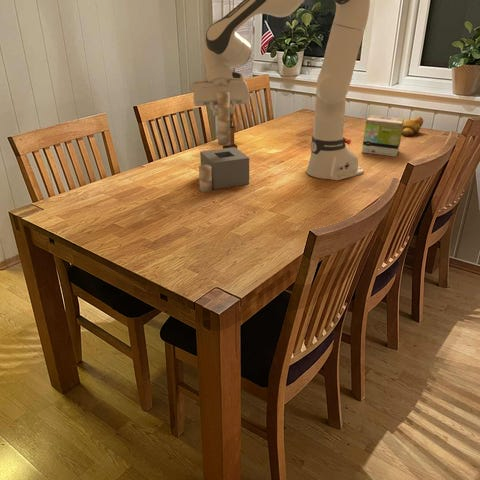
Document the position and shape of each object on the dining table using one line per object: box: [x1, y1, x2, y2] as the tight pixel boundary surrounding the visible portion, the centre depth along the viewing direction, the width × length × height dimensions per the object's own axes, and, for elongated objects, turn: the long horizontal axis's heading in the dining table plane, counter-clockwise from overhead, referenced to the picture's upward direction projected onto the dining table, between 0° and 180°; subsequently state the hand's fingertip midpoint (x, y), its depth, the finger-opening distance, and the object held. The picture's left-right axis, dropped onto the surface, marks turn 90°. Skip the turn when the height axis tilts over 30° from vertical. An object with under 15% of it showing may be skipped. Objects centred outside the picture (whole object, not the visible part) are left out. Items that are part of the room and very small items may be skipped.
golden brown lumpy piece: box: [402, 116, 424, 137], centre depth 231 cm, size 13×10×8 cm
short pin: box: [198, 164, 213, 194], centre depth 166 cm, size 4×4×9 cm
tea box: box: [361, 114, 405, 158], centre depth 204 cm, size 15×10×15 cm, turn 68°
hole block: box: [199, 147, 250, 190], centre depth 175 cm, size 14×14×10 cm
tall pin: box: [216, 92, 231, 147], centre depth 166 cm, size 4×4×18 cm
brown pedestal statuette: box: [222, 115, 238, 149], centre depth 204 cm, size 7×6×18 cm
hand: (224, 114), depth 165 cm, fingers closed on tall pin, 4 cm apart
